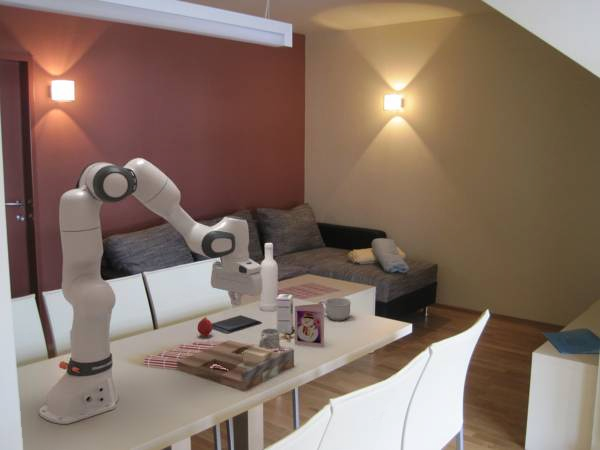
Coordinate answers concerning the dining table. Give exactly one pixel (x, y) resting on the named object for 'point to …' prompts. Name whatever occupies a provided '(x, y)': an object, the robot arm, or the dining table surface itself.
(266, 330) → the mug
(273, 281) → the bottle
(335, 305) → the teacup
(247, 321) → the wallet
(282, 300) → the syrup box
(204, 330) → the onion
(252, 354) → the birch block
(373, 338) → the dining table surface
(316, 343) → the greeting card
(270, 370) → the board
